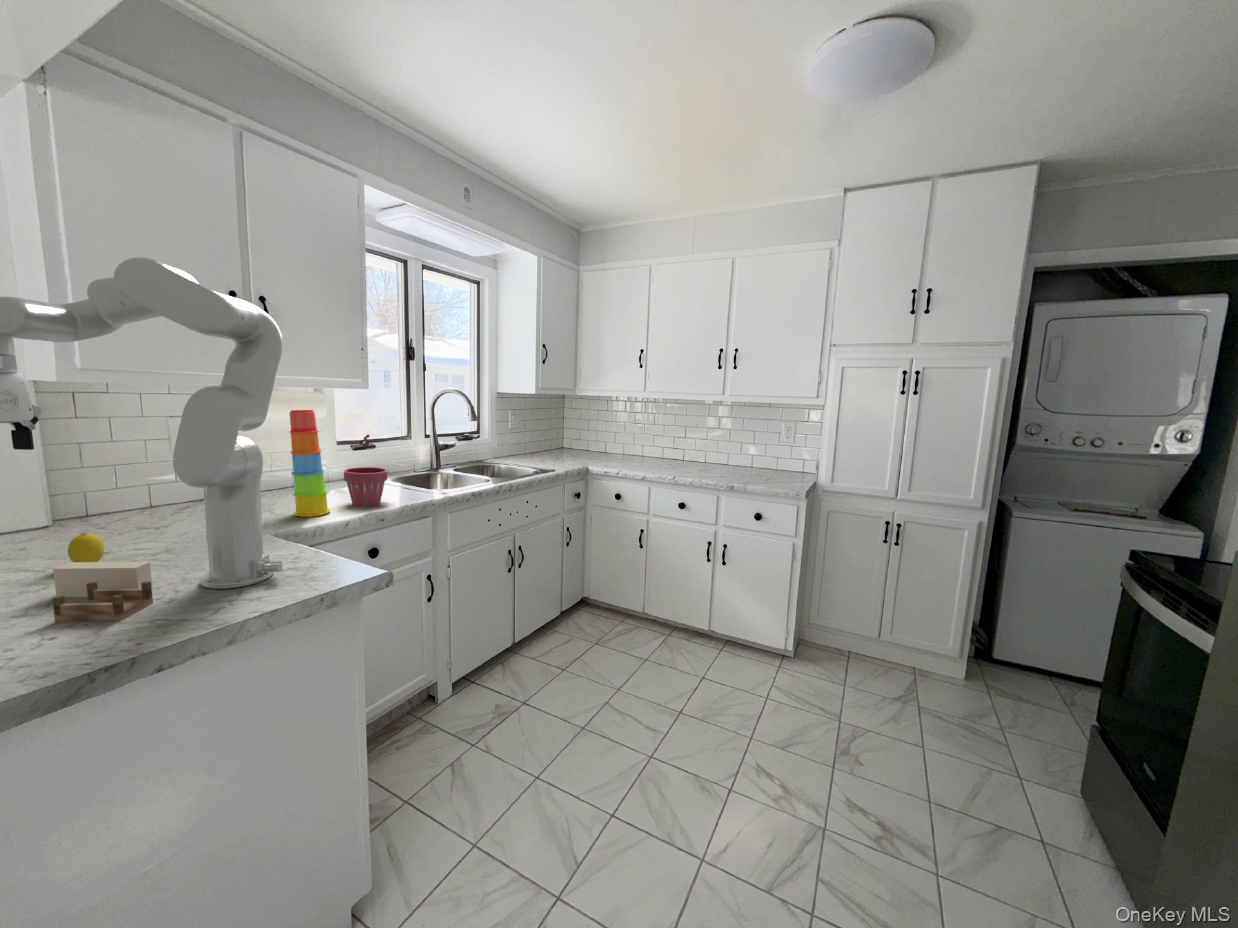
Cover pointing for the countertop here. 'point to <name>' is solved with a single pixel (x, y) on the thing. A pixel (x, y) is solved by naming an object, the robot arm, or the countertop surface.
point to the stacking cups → (307, 465)
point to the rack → (104, 604)
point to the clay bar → (99, 576)
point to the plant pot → (365, 485)
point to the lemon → (86, 548)
